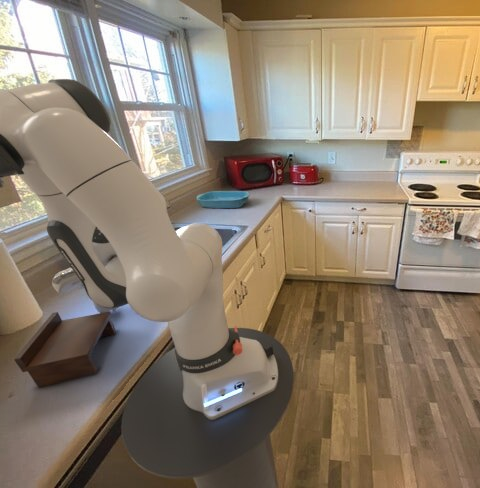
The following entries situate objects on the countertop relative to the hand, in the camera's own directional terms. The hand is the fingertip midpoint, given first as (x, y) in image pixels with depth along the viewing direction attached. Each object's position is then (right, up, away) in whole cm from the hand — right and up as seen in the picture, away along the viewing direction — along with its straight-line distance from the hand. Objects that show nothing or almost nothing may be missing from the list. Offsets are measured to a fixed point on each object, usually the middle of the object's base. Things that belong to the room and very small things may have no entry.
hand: (96, 280), depth 88 cm
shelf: (+5, -19, -11) cm, 23 cm away
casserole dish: (+1, +39, +110) cm, 117 cm away
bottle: (+1, -11, +5) cm, 12 cm away
